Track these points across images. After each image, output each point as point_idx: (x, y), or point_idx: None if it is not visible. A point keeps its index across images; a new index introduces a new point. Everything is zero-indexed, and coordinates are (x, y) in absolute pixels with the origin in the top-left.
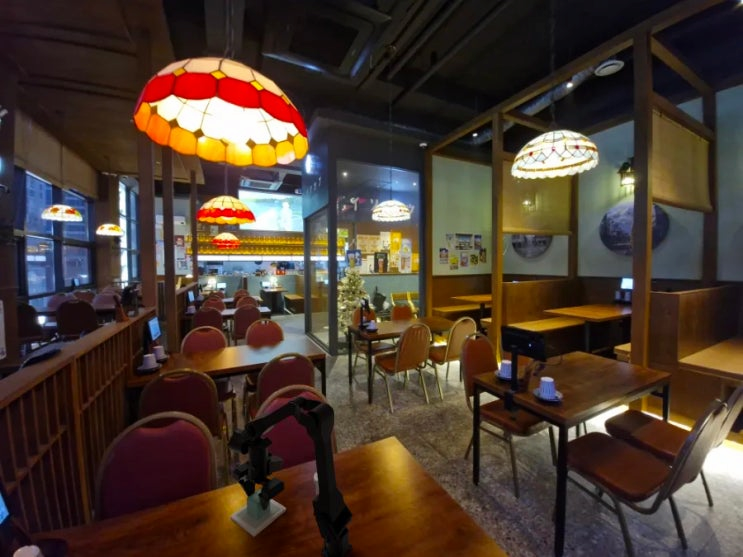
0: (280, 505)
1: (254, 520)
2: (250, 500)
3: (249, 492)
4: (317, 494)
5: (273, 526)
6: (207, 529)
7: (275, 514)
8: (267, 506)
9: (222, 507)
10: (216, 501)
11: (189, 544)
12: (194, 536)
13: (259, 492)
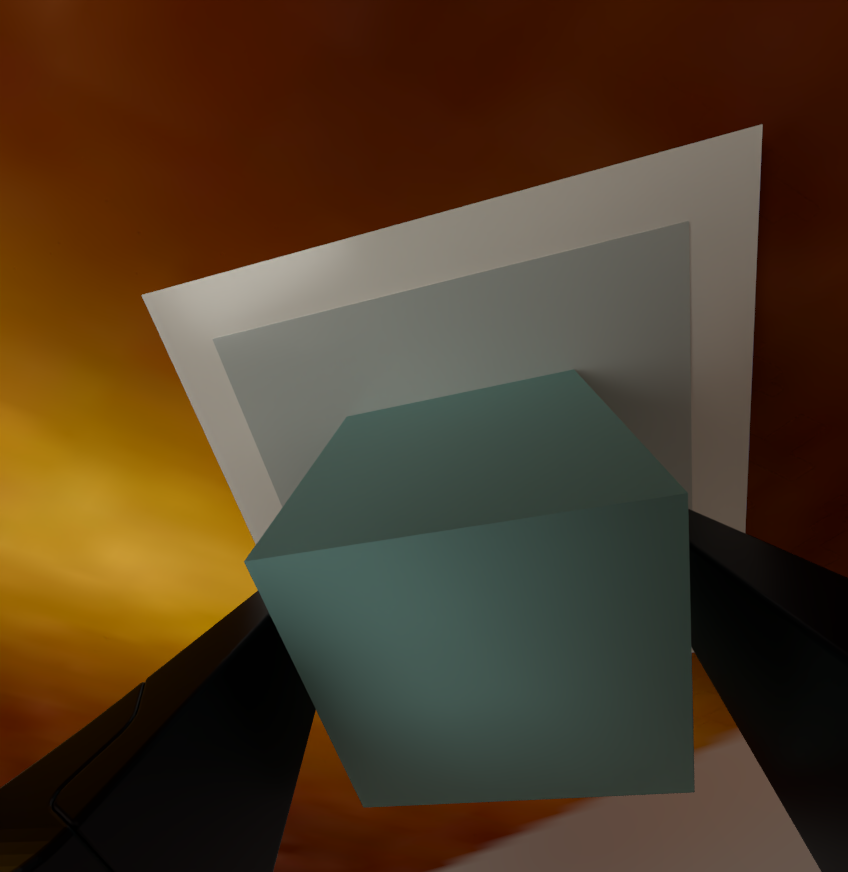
0: (615, 183)
1: None
2: (473, 798)
3: (268, 788)
4: None
5: (806, 433)
6: (332, 781)
7: (712, 348)
8: (705, 520)
9: (144, 655)
10: (38, 659)
11: (389, 860)
12: (341, 832)
13: (372, 627)
